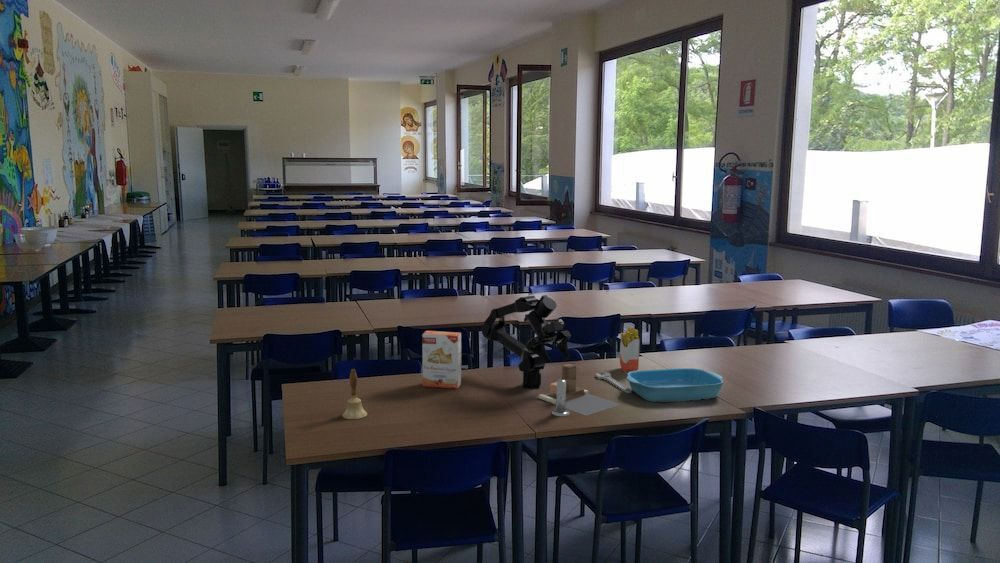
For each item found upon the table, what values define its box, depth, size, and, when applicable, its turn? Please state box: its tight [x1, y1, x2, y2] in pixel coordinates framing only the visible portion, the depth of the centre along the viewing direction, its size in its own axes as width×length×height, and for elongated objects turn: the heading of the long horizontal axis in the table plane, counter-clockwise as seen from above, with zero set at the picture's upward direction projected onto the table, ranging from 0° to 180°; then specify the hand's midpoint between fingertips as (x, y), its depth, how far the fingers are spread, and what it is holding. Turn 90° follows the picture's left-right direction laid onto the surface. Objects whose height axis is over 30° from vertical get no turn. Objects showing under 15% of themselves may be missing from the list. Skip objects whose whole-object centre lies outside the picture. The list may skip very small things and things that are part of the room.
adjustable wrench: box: [595, 371, 633, 394], centre depth 282 cm, size 25×6×2 cm, turn 14°
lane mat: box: [535, 389, 622, 417], centre depth 260 cm, size 25×18×2 cm
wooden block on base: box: [553, 363, 585, 401], centre depth 263 cm, size 4×12×12 cm, turn 130°
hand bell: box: [342, 368, 368, 420], centre depth 244 cm, size 8×8×16 cm
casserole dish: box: [626, 367, 724, 403], centre depth 270 cm, size 37×22×7 cm, turn 104°
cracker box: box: [421, 330, 462, 390], centre depth 276 cm, size 14×6×21 cm, turn 80°
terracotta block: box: [549, 381, 557, 395], centre depth 267 cm, size 5×5×4 cm
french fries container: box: [619, 326, 641, 374], centre depth 298 cm, size 5×11×18 cm, turn 10°
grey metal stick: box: [551, 378, 570, 417], centre depth 246 cm, size 6×6×12 cm
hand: (559, 360), depth 265 cm, fingers open, 9 cm apart
